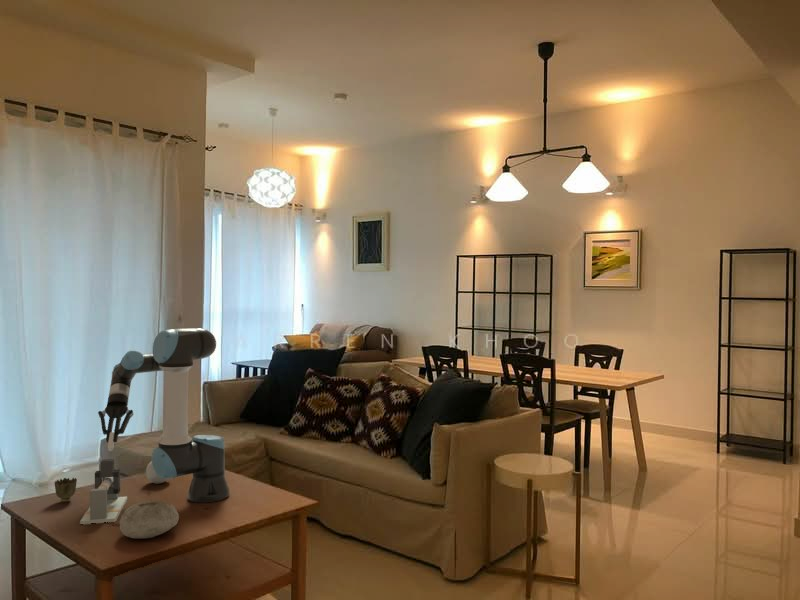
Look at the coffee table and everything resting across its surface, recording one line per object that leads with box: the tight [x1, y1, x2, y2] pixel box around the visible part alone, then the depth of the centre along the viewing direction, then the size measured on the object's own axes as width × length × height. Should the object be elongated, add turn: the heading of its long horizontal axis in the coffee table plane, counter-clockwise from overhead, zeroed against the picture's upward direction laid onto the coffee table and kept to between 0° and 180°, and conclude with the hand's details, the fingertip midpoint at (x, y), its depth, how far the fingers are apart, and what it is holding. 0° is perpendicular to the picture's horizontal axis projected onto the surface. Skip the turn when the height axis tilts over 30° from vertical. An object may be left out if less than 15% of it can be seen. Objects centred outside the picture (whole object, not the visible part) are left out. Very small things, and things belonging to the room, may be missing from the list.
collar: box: [94, 458, 121, 495], centre depth 233 cm, size 3×8×12 cm, turn 104°
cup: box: [53, 477, 78, 504], centre depth 239 cm, size 8×7×8 cm
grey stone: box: [119, 500, 180, 540], centre depth 207 cm, size 18×18×10 cm
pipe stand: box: [79, 477, 128, 525], centre depth 228 cm, size 24×11×11 cm, turn 14°
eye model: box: [145, 460, 169, 484], centre depth 262 cm, size 10×10×10 cm
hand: (110, 449), depth 242 cm, fingers closed
